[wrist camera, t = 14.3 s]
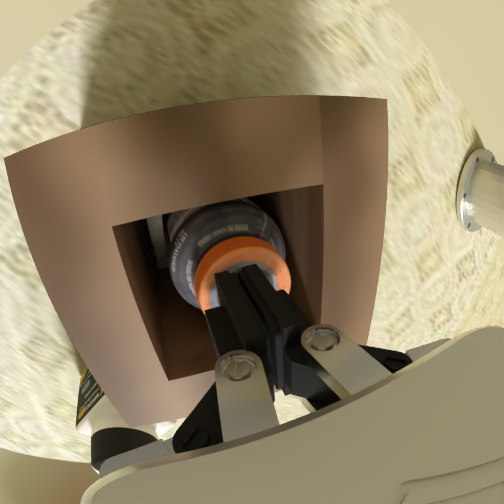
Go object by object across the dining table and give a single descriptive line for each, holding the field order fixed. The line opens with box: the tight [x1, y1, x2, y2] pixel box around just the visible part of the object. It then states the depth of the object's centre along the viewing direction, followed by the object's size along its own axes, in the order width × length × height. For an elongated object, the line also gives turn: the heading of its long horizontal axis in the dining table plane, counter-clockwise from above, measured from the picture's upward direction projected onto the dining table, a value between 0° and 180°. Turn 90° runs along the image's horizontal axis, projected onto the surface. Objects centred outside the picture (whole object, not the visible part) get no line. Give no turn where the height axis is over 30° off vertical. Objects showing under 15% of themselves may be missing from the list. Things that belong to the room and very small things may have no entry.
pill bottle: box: [162, 197, 291, 314], centre depth 17 cm, size 6×6×11 cm
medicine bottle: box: [76, 368, 177, 474], centre depth 21 cm, size 7×7×12 cm
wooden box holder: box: [4, 95, 388, 427], centre depth 17 cm, size 15×15×12 cm
